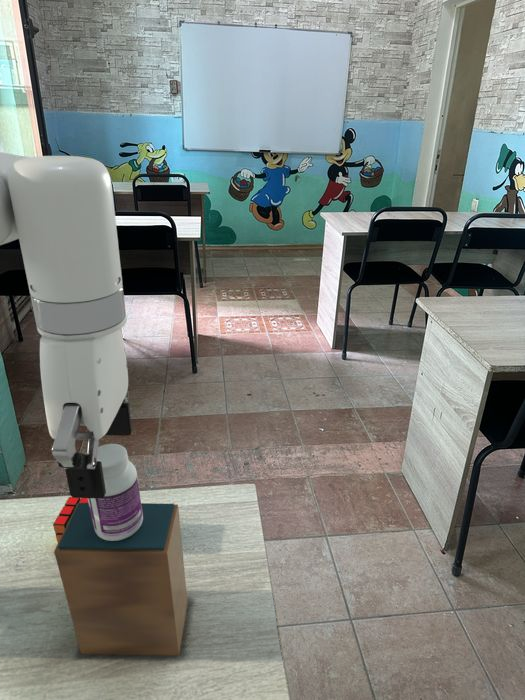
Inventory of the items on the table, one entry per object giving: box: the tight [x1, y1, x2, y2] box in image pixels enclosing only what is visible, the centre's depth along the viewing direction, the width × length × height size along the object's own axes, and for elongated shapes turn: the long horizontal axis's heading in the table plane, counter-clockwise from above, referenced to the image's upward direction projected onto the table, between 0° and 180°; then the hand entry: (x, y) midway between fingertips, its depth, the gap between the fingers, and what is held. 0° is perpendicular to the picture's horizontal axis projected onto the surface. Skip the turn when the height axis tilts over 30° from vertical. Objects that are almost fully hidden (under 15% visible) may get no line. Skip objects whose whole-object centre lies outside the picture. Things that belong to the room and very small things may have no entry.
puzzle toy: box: [52, 496, 88, 543], centre depth 73 cm, size 6×6×6 cm
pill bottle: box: [88, 443, 143, 541], centre depth 51 cm, size 5×5×10 cm
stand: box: [53, 503, 188, 656], centre depth 58 cm, size 12×7×18 cm, turn 89°
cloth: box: [58, 502, 175, 550], centre depth 54 cm, size 11×6×1 cm, turn 89°
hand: (104, 462), depth 50 cm, fingers open, 9 cm apart
